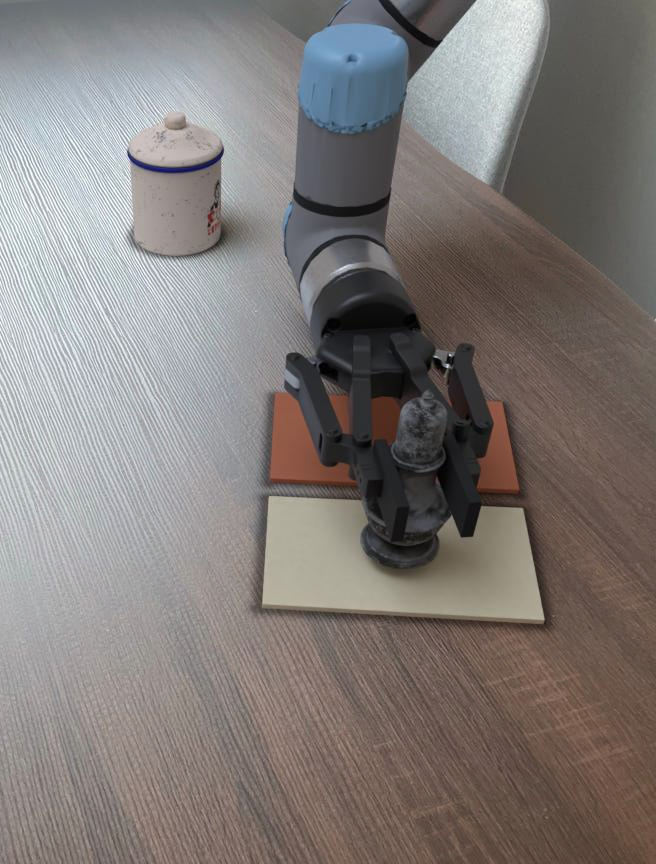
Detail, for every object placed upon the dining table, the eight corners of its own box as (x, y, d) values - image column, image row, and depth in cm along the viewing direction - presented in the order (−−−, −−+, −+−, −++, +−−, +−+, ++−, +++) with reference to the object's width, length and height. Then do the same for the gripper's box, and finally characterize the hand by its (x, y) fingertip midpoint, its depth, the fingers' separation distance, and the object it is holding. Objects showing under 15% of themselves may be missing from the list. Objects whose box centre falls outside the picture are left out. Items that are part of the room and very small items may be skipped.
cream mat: (521, 514, 73) (523, 507, 73) (542, 626, 66) (545, 619, 65) (268, 501, 74) (268, 495, 74) (261, 610, 67) (262, 603, 67)
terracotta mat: (500, 407, 82) (502, 401, 81) (517, 496, 74) (519, 489, 74) (274, 398, 83) (275, 392, 83) (269, 484, 76) (270, 478, 75)
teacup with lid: (229, 255, 99) (231, 130, 91) (136, 262, 99) (129, 137, 90) (211, 200, 107) (211, 81, 99) (125, 207, 107) (118, 87, 98)
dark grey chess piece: (456, 530, 69) (493, 378, 61) (424, 583, 66) (459, 430, 57) (376, 503, 72) (400, 352, 63) (341, 553, 68) (362, 401, 59)
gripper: (459, 353, 79) (557, 560, 63) (246, 365, 79) (291, 577, 63) (479, 261, 74) (592, 463, 58) (249, 273, 73) (300, 481, 57)
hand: (435, 521), depth 60 cm, fingers closed on dark grey chess piece, 3 cm apart
